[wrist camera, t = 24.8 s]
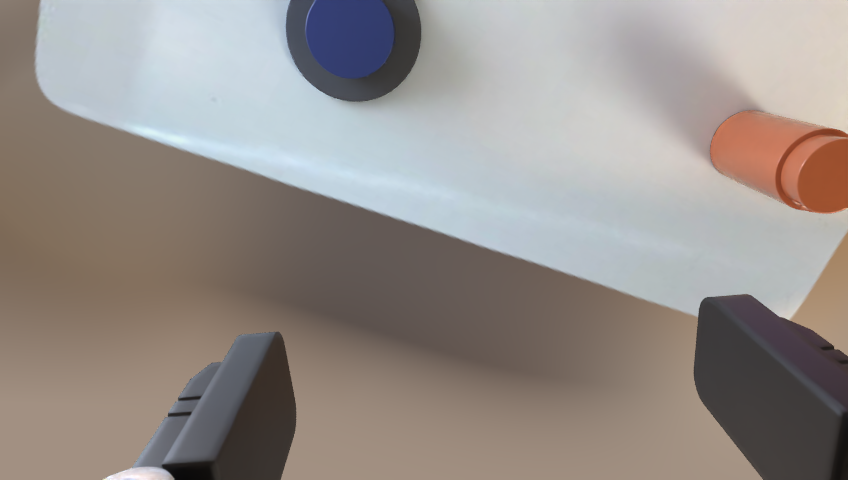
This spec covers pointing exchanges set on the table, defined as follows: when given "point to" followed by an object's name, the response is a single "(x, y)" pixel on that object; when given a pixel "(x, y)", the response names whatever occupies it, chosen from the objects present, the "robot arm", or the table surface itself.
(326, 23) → the lid
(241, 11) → the table surface
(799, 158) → the jar
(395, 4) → the coaster
